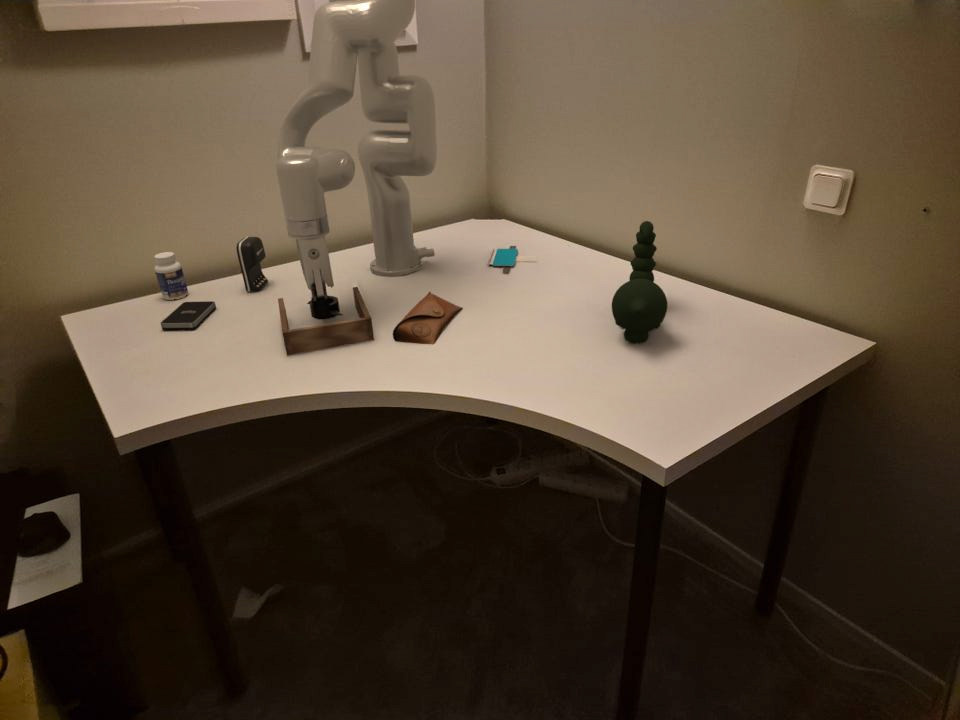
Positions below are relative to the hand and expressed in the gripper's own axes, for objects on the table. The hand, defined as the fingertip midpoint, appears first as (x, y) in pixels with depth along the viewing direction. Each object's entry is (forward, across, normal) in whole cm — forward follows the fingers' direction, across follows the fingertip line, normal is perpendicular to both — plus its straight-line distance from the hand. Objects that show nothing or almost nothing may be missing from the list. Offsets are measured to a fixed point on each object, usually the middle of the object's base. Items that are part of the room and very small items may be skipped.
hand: (322, 316), depth 124 cm
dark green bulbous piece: (+2, -25, -56) cm, 61 cm away
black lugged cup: (+2, +5, -1) cm, 6 cm away
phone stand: (+2, +20, -48) cm, 52 cm away
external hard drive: (+2, +14, +26) cm, 29 cm away
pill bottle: (+2, +29, +30) cm, 41 cm away
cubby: (+2, -2, 0) cm, 3 cm away
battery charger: (+2, +27, +12) cm, 29 cm away
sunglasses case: (+2, -8, -20) cm, 21 cm away
